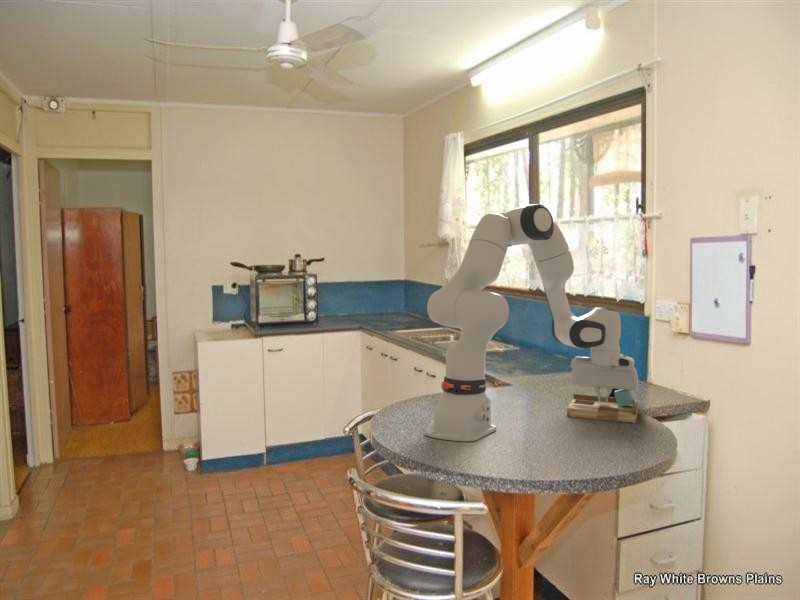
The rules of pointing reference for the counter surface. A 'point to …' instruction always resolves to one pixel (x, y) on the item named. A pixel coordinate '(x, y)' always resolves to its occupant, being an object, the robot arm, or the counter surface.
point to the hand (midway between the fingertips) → (603, 401)
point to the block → (623, 397)
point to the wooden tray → (601, 409)
